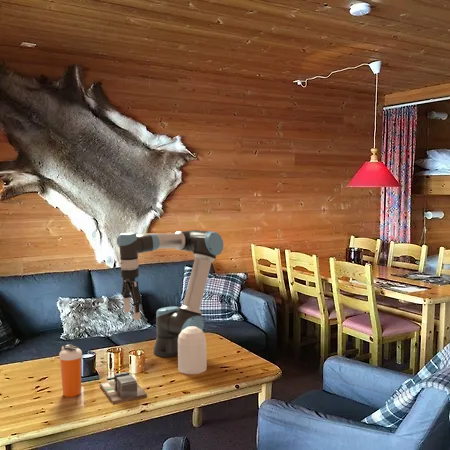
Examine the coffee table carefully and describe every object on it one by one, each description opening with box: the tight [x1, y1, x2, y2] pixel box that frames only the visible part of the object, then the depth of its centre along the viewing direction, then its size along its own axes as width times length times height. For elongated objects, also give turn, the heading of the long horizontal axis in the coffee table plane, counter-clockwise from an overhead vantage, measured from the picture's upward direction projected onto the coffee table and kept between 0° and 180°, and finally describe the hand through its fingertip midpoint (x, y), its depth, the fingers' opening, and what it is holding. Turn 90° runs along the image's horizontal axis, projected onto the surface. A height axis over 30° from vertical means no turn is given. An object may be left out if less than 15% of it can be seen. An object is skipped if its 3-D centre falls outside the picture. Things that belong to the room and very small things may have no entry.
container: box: [177, 326, 208, 375], centre depth 235 cm, size 13×13×20 cm
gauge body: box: [99, 374, 148, 405], centre depth 210 cm, size 20×14×7 cm
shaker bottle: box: [58, 343, 83, 398], centre depth 208 cm, size 9×9×20 cm
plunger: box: [106, 371, 131, 389], centre depth 206 cm, size 9×9×6 cm
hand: (132, 315), depth 223 cm, fingers open, 13 cm apart
